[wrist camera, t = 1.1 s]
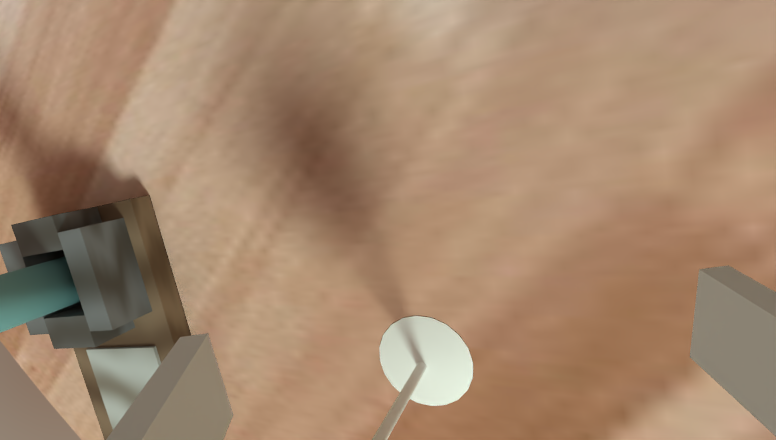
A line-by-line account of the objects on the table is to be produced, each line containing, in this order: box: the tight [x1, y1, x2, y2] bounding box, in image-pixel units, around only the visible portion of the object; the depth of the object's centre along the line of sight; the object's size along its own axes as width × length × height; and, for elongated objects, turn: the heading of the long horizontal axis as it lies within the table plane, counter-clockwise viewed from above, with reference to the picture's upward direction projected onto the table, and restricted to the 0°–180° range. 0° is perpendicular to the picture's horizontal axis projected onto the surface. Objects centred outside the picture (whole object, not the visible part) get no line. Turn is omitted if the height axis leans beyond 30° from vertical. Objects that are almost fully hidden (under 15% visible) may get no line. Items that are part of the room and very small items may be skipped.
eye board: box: [0, 195, 191, 440], centre depth 43 cm, size 26×15×6 cm, turn 13°
